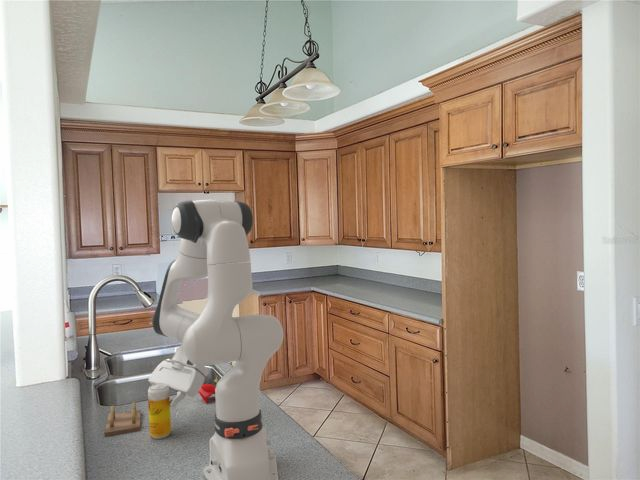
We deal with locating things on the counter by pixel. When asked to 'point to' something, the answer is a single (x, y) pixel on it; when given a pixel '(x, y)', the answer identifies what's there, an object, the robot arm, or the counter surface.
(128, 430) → the standoff plate
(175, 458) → the counter surface
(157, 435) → the glass of beer
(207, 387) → the cap
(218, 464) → the robot arm
